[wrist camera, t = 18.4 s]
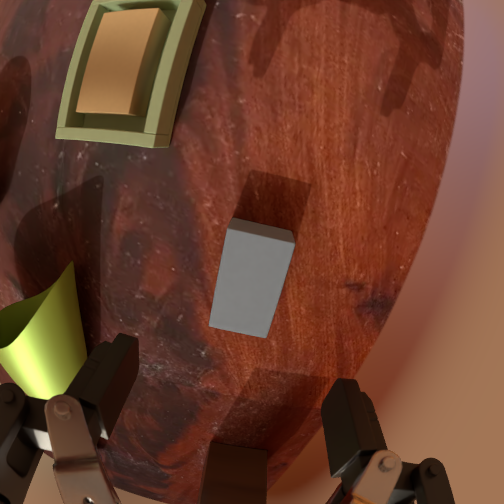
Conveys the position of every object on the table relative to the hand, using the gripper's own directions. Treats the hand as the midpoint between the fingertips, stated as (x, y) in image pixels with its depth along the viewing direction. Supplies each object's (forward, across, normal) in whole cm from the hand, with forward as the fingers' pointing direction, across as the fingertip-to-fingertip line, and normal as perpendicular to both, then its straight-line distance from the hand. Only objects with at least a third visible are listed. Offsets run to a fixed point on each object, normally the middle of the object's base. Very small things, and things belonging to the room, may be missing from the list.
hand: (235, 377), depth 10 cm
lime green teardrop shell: (+10, +17, +12) cm, 23 cm away
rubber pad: (+10, 0, 0) cm, 10 cm away
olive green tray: (+10, +10, -12) cm, 19 cm away
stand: (+10, -4, +28) cm, 30 cm away
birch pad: (+10, +11, -12) cm, 19 cm away
